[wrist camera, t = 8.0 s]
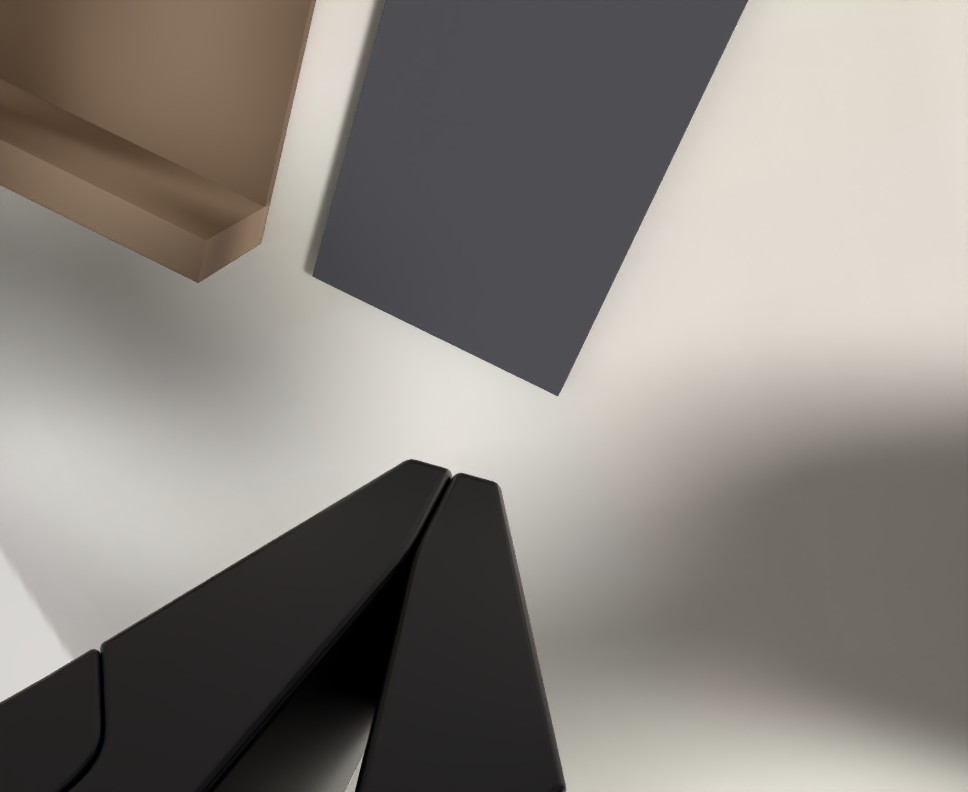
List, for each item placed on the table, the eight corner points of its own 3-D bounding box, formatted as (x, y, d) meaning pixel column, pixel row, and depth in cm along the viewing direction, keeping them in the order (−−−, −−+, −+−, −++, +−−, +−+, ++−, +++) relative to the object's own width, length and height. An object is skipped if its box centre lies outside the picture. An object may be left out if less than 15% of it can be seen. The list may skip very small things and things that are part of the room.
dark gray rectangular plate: (765, -36, 15) (764, -35, 15) (561, 387, 20) (557, 396, 20) (441, -176, 16) (433, -178, 16) (320, 269, 21) (312, 276, 20)
